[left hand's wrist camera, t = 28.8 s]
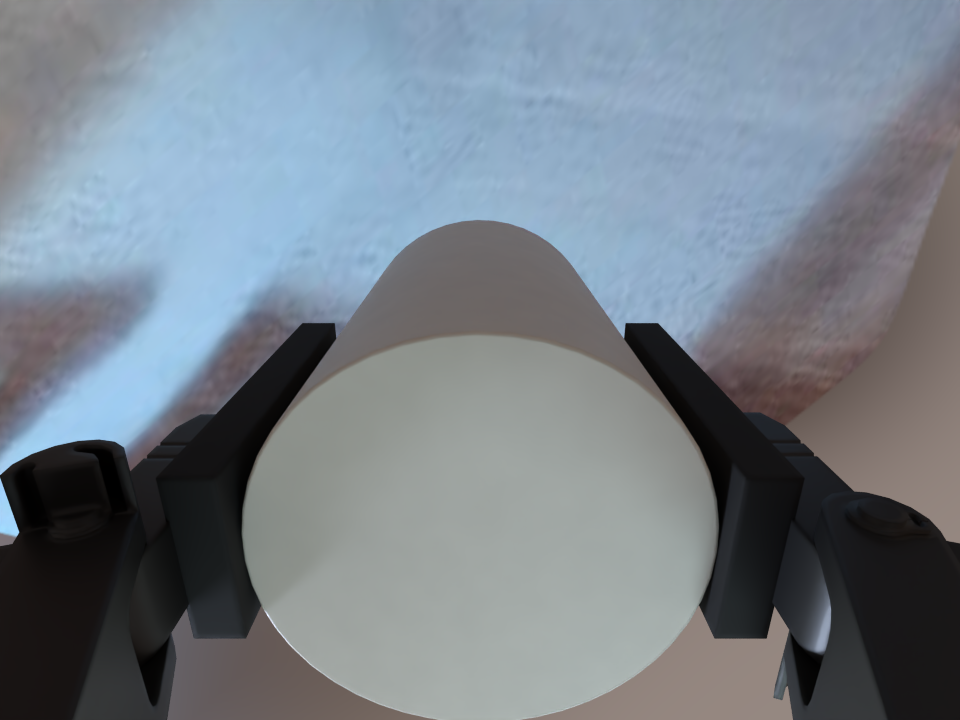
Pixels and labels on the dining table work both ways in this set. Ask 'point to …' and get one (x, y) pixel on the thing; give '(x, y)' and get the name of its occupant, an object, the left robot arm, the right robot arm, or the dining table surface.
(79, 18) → the dining table surface
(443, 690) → the can
